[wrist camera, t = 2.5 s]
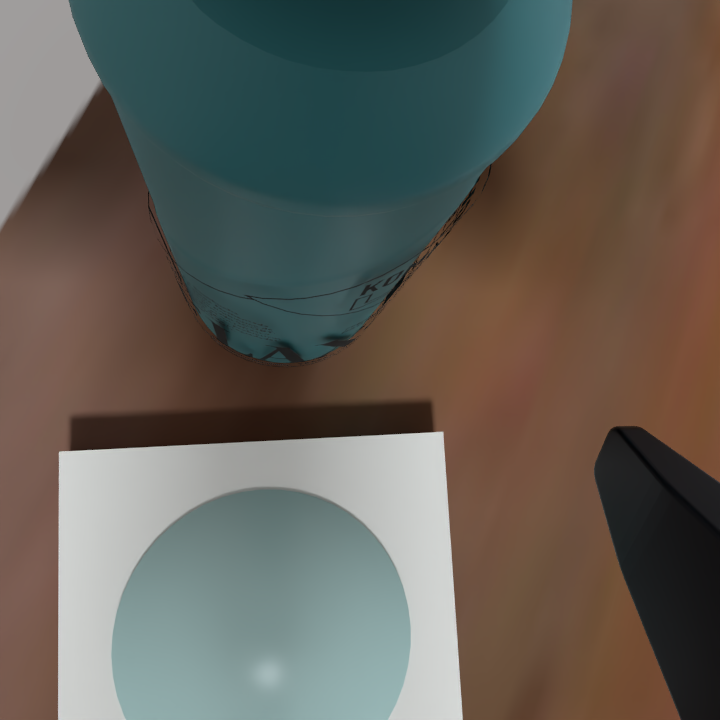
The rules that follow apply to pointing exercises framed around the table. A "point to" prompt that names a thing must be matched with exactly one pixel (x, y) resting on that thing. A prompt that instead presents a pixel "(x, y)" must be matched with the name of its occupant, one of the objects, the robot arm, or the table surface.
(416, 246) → the beverage bottle
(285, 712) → the pad
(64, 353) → the table surface
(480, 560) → the table surface
